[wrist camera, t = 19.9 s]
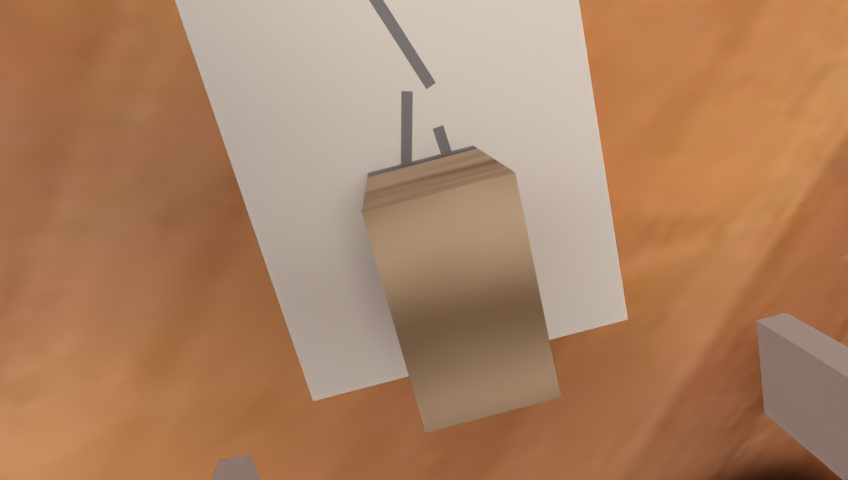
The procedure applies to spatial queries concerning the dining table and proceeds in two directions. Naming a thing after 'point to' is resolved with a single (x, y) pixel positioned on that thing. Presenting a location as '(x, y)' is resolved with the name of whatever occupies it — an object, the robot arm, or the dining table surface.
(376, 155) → the board
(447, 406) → the block
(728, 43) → the dining table surface
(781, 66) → the dining table surface
